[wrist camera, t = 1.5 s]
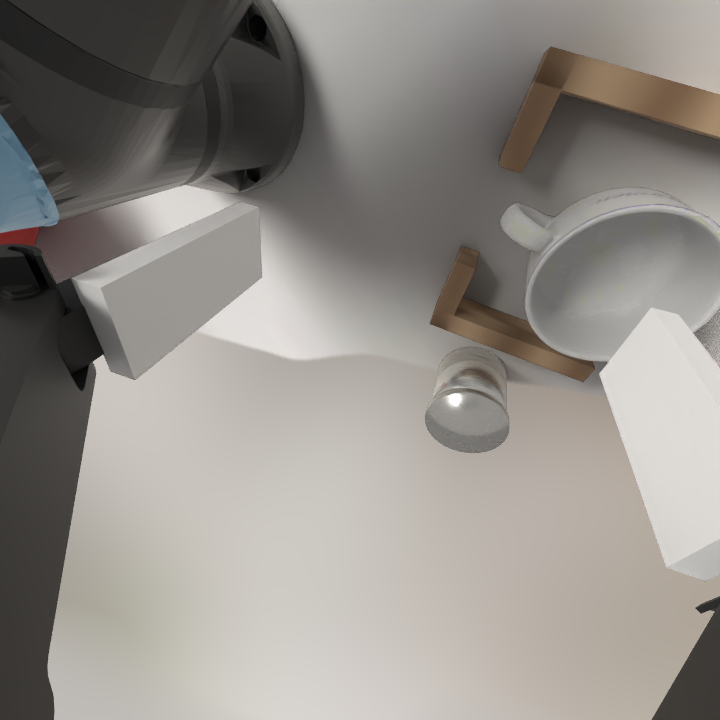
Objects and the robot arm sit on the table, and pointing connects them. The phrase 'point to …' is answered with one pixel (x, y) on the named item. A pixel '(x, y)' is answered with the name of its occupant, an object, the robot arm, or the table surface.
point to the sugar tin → (469, 402)
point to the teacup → (615, 267)
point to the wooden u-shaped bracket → (551, 79)
